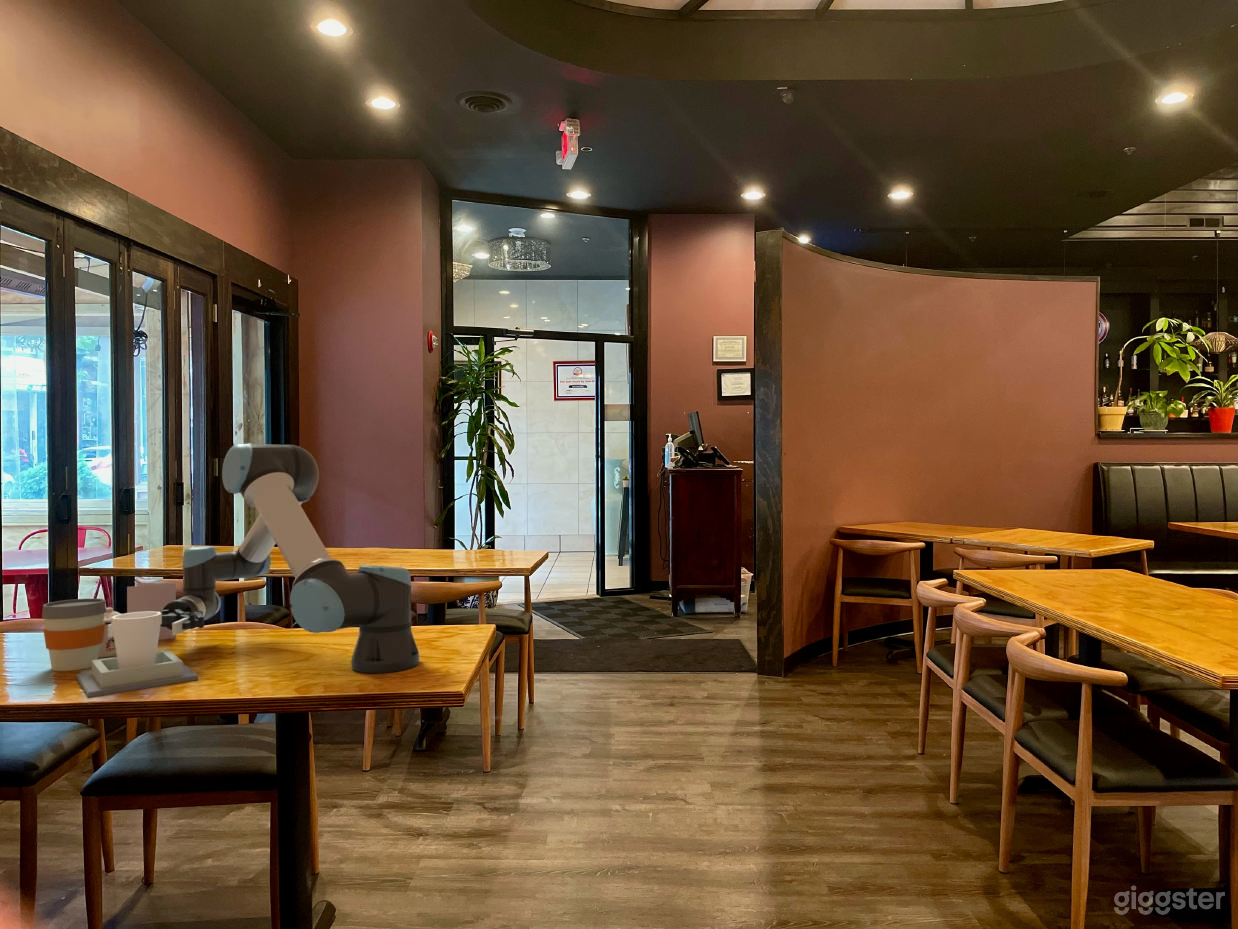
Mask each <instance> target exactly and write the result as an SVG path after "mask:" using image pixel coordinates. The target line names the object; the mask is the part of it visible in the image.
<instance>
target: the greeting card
mask: <svg viewBox="0 0 1238 929" xmlns="http://www.w3.org/2000/svg"><path fill="white" fill-rule="evenodd" d="M176 584H177V583H160V582H159V583H151V582H148V583H147V582H143V583H142V582H141V583H140V582H138V583H137V585H133V586H127V587H126V591H127V592H126V596H127V597H126V605H127V606H126V607H127V608H126V609H127V610H126V611H127V612H126V613H132V612H148V611H154V612H160V611H161V610H163V608H164V607H165V606H166V605H167V604H168V603H170V602H172V601H175V600H177V598H176V597H177V586H176ZM168 639H171V640H172V639H177V635H172V630H170V629H168V628H167V627H160V632H159V640H158V641H160V640H168Z"/></svg>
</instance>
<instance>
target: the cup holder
mask: <svg viewBox="0 0 1238 929" xmlns="http://www.w3.org/2000/svg"><path fill="white" fill-rule="evenodd" d="M76 679H77V681H78V683H79V685H80V686H81V688H82V690H83V691H84V693H85V694H86V696H87V698H93V697H98V696H99V697H100V696H106V695H112V694H117V693H124V692H130V691H137V690H143V689H149V688H155V687H161V686H167V685H174V684H180V683H187V682H193V681H198V680H199V674H197V673H196V672H195V671H193V669H191V668H190V667H189V666H188V665H186V664H185V663H184V662H183V660H182V659H180V658H179V657H178V656H176V655H175V653H173V652H172V651H171V650H169V649H165V650H159V651H158V650H157V654H156V661H155V664H150V665H143V666H137V667H130V668H123V669H119V667H118V660H117V656H114V657H107V658H98V660H92V667H91V671H88V672H79V673H76Z"/></svg>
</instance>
